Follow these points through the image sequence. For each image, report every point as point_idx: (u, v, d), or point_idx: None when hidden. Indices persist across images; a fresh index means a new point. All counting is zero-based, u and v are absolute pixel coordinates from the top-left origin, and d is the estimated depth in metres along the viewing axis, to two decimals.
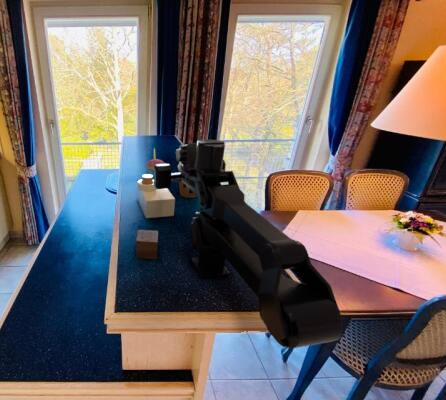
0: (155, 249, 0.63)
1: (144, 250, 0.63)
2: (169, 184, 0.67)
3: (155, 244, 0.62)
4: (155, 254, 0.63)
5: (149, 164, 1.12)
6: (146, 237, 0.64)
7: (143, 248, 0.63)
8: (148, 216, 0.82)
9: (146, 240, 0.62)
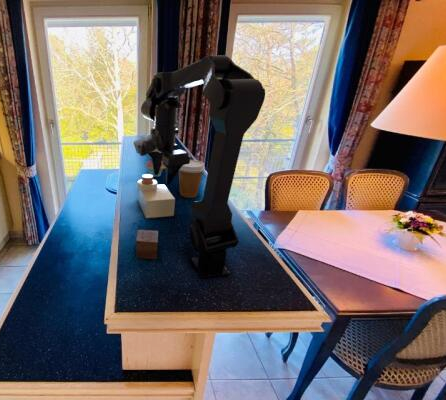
0: (155, 249, 0.63)
1: (144, 250, 0.63)
2: (180, 150, 0.68)
3: (155, 244, 0.62)
4: (155, 254, 0.63)
5: (149, 164, 1.12)
6: (146, 237, 0.64)
7: (143, 248, 0.63)
8: (148, 216, 0.82)
9: (146, 240, 0.62)
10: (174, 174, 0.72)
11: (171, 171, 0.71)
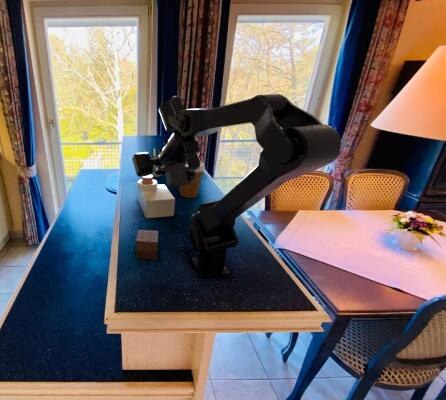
0: (155, 249, 0.63)
1: (144, 250, 0.63)
2: None
3: (155, 244, 0.62)
4: (155, 254, 0.63)
5: None
6: (146, 237, 0.64)
7: (143, 248, 0.63)
8: (148, 216, 0.82)
9: (146, 240, 0.62)
10: None
11: None
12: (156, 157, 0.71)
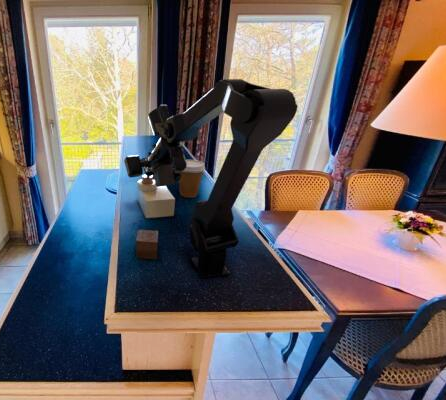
0: (155, 249, 0.63)
1: (144, 250, 0.63)
2: None
3: (155, 244, 0.62)
4: (155, 254, 0.63)
5: None
6: (146, 237, 0.64)
7: (143, 248, 0.63)
8: (148, 216, 0.82)
9: (146, 240, 0.62)
10: None
11: None
12: (146, 159, 0.78)
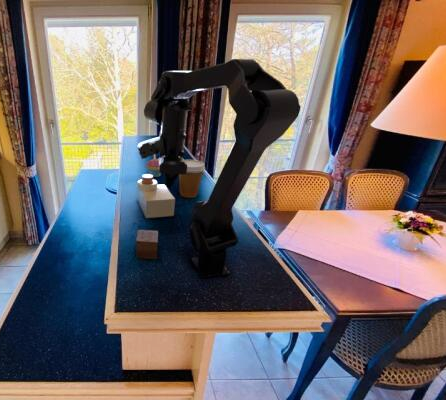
0: (155, 249, 0.63)
1: (144, 250, 0.63)
2: (180, 157, 0.61)
3: (155, 244, 0.62)
4: (155, 254, 0.63)
5: (149, 164, 1.12)
6: (146, 237, 0.64)
7: (143, 248, 0.63)
8: (148, 216, 0.82)
9: (146, 240, 0.62)
10: (174, 177, 0.68)
11: (169, 174, 0.68)
12: None
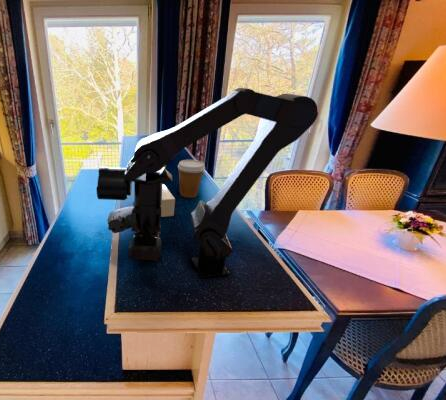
0: None
1: None
2: (154, 238, 0.52)
3: None
4: None
5: None
6: None
7: None
8: None
9: None
10: None
11: None
12: None
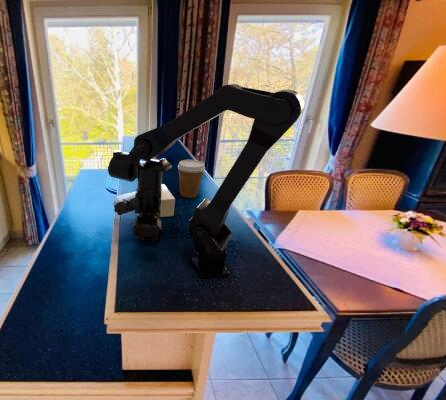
0: None
1: None
2: (155, 218, 0.59)
3: None
4: None
5: None
6: None
7: None
8: None
9: None
10: None
11: None
12: None
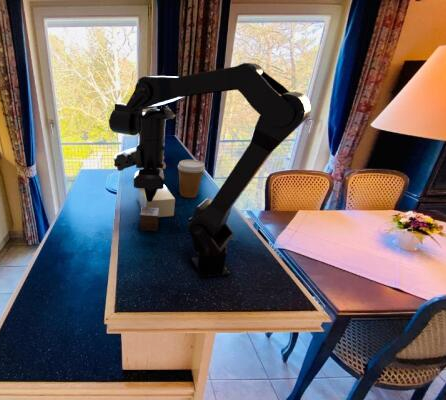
0: (156, 222, 0.74)
1: (147, 223, 0.75)
2: (157, 170, 0.56)
3: (156, 218, 0.73)
4: (156, 227, 0.75)
5: None
6: (148, 212, 0.75)
7: (145, 221, 0.74)
8: None
9: (148, 214, 0.74)
10: (154, 191, 0.63)
11: None
12: None
